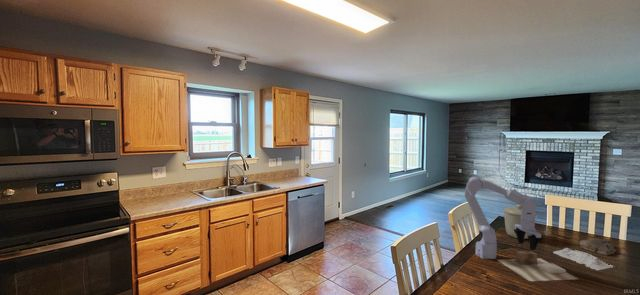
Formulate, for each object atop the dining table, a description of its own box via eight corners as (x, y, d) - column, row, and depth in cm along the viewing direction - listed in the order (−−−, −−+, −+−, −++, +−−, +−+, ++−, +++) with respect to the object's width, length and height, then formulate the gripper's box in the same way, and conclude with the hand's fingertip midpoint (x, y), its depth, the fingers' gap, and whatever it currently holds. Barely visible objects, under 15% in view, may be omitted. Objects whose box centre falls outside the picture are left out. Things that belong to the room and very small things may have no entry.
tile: (549, 270, 131) (565, 270, 132) (537, 263, 138) (552, 263, 139) (549, 273, 131) (565, 273, 132) (537, 266, 138) (552, 266, 139)
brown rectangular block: (521, 263, 141) (522, 254, 140) (516, 260, 144) (516, 251, 144) (536, 263, 141) (537, 253, 141) (531, 260, 145) (531, 250, 144)
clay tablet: (590, 241, 173) (575, 247, 164) (591, 233, 172) (576, 239, 163) (623, 250, 160) (608, 257, 151) (623, 242, 160) (609, 248, 151)
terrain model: (564, 251, 162) (564, 242, 162) (618, 267, 141) (618, 257, 141) (547, 255, 156) (547, 246, 156) (600, 273, 135) (600, 262, 135)
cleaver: (561, 241, 173) (572, 239, 176) (561, 240, 173) (572, 238, 176) (516, 226, 201) (526, 225, 204) (516, 225, 201) (526, 224, 204)
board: (529, 283, 125) (529, 280, 125) (496, 261, 146) (496, 259, 146) (579, 281, 127) (579, 278, 126) (539, 260, 147) (540, 257, 147)
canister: (543, 241, 172) (544, 208, 171) (514, 241, 172) (515, 208, 171) (522, 231, 190) (523, 200, 189) (496, 231, 190) (496, 200, 189)
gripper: (547, 224, 135) (546, 252, 135) (523, 215, 149) (523, 240, 150) (533, 225, 134) (532, 252, 135) (511, 216, 149) (510, 241, 149)
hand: (526, 246), depth 142 cm, fingers open, 7 cm apart
